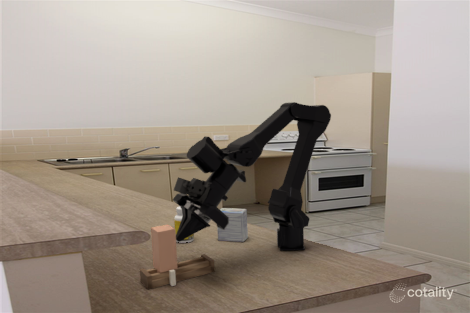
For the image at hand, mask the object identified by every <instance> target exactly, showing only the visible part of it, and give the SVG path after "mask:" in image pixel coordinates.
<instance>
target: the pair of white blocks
mask: <svg viewBox="0 0 470 313" xmlns="http://www.w3.org/2000/svg"><path fill="white" fill-rule="evenodd" d="M169 277H170V284H169V286H171V287H173V286H177V282H176V276H175V270H174V269H173V270H169Z"/></svg>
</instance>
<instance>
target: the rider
mask: <svg viewBox="0 0 470 313" xmlns="http://www.w3.org/2000/svg"><path fill="white" fill-rule="evenodd" d="M150 232H151V233H150V235H151V250H152V251H151V252H152V263H153V264H152V265H153V266H152V267H153V268H155V269H157V273H158V272H160V273H162V272H166V271H169V270H173V269H178V266H177V263H178V252H177V242H176V232H175V227H172V226H171V225H170V224H164V225H157V226H152V227H150Z"/></svg>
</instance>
